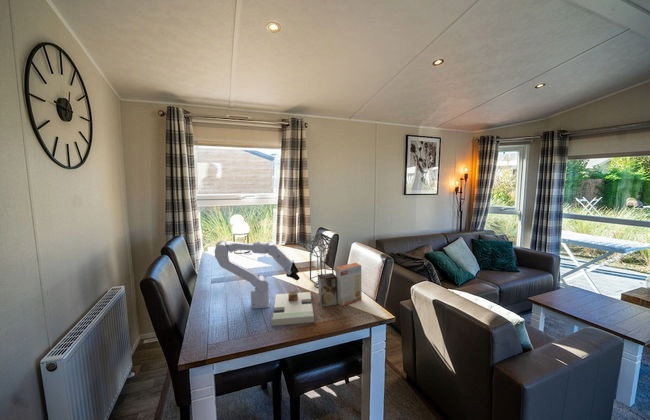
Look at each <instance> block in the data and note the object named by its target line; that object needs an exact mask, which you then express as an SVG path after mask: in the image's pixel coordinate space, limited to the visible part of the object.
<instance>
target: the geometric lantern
mask: <svg viewBox="0 0 650 420" xmlns="http://www.w3.org/2000/svg"><path fill="white" fill-rule="evenodd" d="M311 239H312V240H311ZM336 242H337V240H336V239H333V238H332V237H330V236H329V235H326V234H324V233H322V232H318V233H317V234H316V235H313V236H312V237H310V238H309V239H307V240H305V241H304V243H305V245H307V247H308V248H309V281H310V282H311V283H313V285H314V287H315V288H318V280H317V281H314V280H313V279H314V278H318V275H316V276H312V256H314V257H316V258H317V259H316V263H317V271H319V263H320V275H321V274H323V268H322V267H324V269H326V262H325V261H326V260H325V257H326V256H327V257H328V256H330V257H329V258H330V265H331V273H333V274H334V275H335V271H334V264H333V252H332V250H331V247H332V246H333V245H334V244H335V243H336ZM321 243H322V244H321ZM323 246H324V247H323ZM327 246H328V247H327ZM315 248H318V249H319V250H317V251H316V250H315ZM321 248H322V249H323V250H321ZM328 250H329V251H328ZM317 252H320V255H318V253H317ZM325 252H327V253H329V254H325ZM313 253H315V254H316V255H315V254H313ZM322 254H323V255H322ZM322 257H323V259H322ZM319 260H320V261H319ZM322 260H323V261H322ZM323 265H324V266H323ZM326 272H327V270H324V274H327V273H326Z"/></svg>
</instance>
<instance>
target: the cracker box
mask: <svg viewBox="0 0 650 420" xmlns="http://www.w3.org/2000/svg"><path fill="white" fill-rule="evenodd" d="M335 276H336V280H337V305H339V306H340V307H345V306H348V305H352V304H354V303H357V302H360V301H362V298H363V297H362V265H361V264H359V263H357V262H352V263H348V264H344V265H343V264H342V265H340V266H336V267H335Z"/></svg>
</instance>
